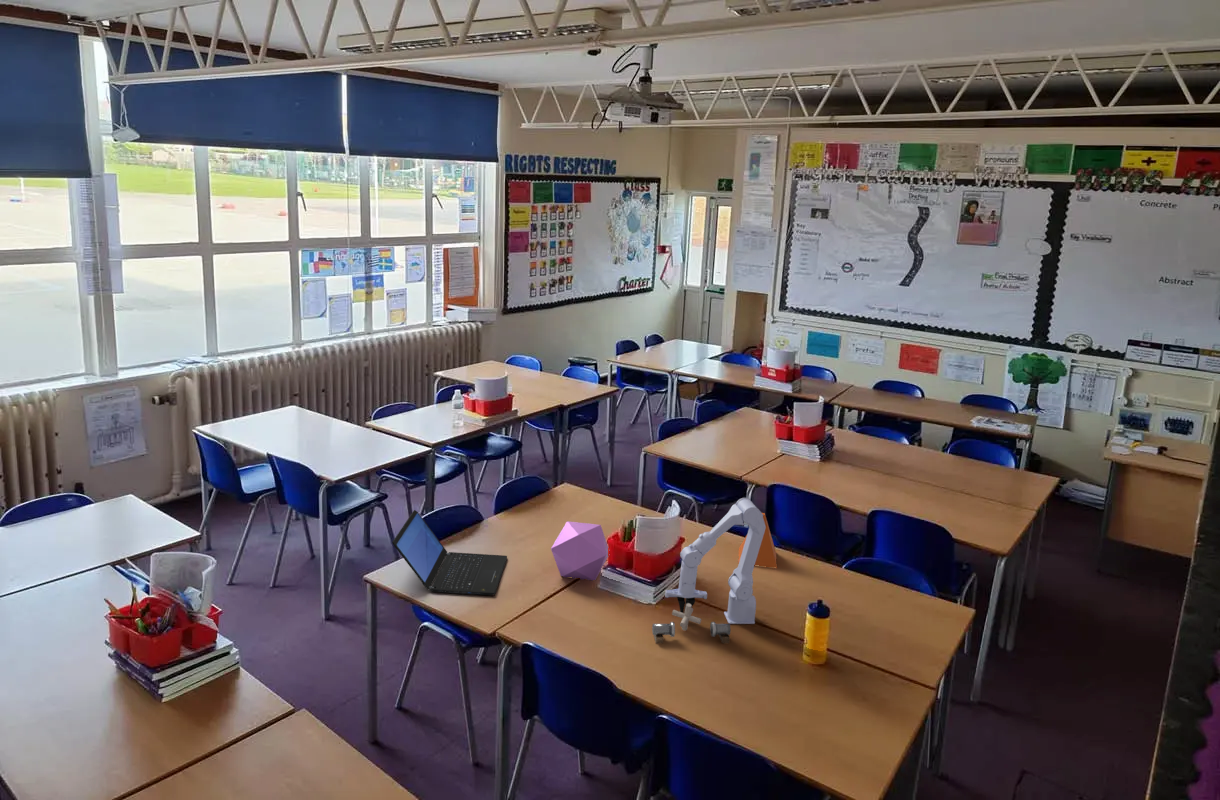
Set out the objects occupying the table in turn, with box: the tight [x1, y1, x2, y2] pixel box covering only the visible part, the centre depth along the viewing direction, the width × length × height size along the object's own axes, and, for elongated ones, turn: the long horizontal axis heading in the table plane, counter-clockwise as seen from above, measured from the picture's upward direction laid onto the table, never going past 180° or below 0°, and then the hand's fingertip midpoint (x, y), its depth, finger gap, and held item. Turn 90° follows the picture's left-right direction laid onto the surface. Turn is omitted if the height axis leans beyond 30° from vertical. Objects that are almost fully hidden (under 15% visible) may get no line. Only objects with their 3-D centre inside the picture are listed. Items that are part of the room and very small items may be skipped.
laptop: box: [391, 509, 508, 596], centre depth 321 cm, size 33×38×19 cm
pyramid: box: [737, 512, 778, 569], centre depth 350 cm, size 16×16×20 cm
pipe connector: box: [671, 603, 702, 631], centre depth 291 cm, size 10×10×10 cm
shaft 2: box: [709, 621, 731, 644], centre depth 287 cm, size 6×5×6 cm
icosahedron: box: [550, 520, 609, 581], centre depth 327 cm, size 22×21×25 cm
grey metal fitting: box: [651, 621, 676, 644], centre depth 285 cm, size 7×5×6 cm
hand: (683, 615), depth 298 cm, fingers closed
